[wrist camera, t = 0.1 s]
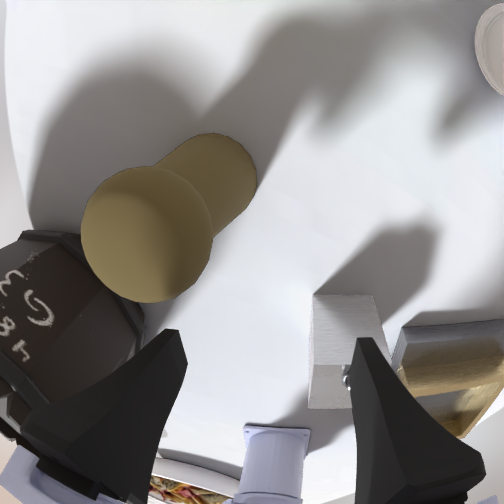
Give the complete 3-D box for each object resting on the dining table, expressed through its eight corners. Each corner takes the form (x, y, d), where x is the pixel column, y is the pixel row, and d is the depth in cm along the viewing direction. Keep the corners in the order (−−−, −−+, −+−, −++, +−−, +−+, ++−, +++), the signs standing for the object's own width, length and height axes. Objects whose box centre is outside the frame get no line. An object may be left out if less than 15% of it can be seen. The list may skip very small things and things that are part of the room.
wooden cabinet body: (450, 421, 28) (456, 448, 24) (361, 433, 30) (362, 464, 26) (511, 317, 20) (530, 347, 16) (401, 327, 22) (414, 366, 18)
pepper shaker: (261, 137, 17) (211, 171, 8) (252, 227, 20) (208, 343, 10) (169, 131, 18) (47, 166, 8) (168, 216, 21) (74, 308, 11)
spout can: (363, 339, 23) (376, 424, 16) (309, 339, 24) (307, 426, 16) (372, 293, 21) (397, 381, 14) (312, 293, 22) (313, 384, 14)
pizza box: (259, 466, 38) (252, 508, 31) (269, 506, 51) (265, 532, 44) (103, 434, 44) (87, 465, 37) (155, 486, 57) (147, 509, 50)
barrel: (52, 345, 32) (-10, 428, 18) (7, 219, 24) (-98, 294, 10) (170, 381, 30) (117, 505, 16) (139, 226, 21) (-12, 376, 8)
